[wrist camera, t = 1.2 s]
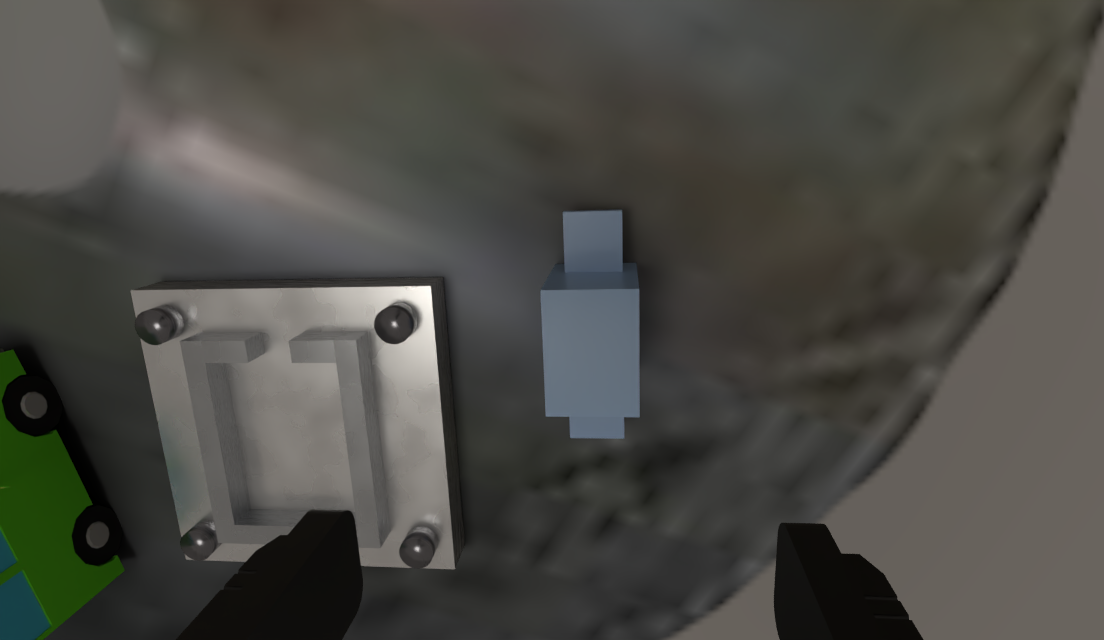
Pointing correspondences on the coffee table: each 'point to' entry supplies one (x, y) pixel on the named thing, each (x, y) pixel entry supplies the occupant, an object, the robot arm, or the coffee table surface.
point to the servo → (592, 328)
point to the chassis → (306, 412)
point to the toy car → (45, 515)
